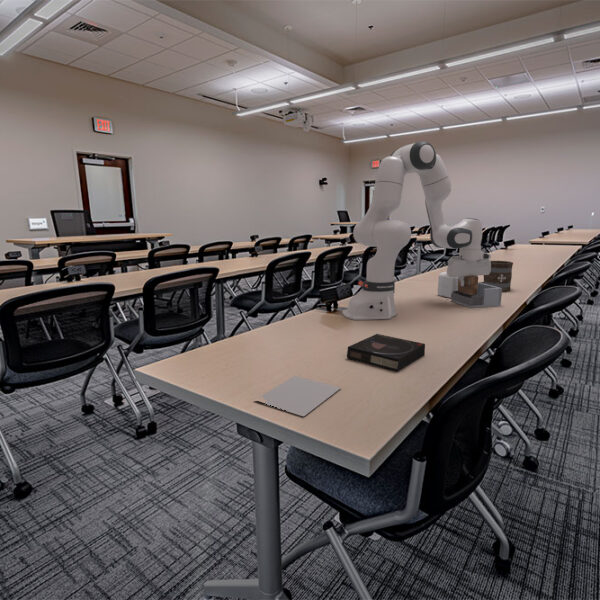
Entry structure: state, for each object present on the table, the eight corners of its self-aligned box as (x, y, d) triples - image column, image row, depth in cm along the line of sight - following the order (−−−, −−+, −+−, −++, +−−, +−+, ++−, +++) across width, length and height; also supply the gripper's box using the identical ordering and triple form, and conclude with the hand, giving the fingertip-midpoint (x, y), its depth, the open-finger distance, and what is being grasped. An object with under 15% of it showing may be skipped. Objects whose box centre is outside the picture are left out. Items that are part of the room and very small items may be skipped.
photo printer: (458, 298, 197) (460, 273, 194) (452, 299, 195) (453, 273, 192) (442, 294, 206) (443, 270, 203) (436, 295, 204) (437, 271, 201)
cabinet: (470, 308, 176) (471, 290, 174) (450, 301, 190) (451, 284, 189) (500, 305, 179) (502, 288, 178) (478, 299, 194) (480, 282, 192)
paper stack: (224, 393, 98) (223, 391, 98) (284, 361, 118) (284, 359, 118) (303, 419, 85) (303, 416, 85) (356, 378, 105) (356, 375, 105)
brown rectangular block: (470, 295, 178) (472, 277, 176) (457, 290, 188) (458, 273, 186) (477, 294, 179) (478, 276, 177) (463, 290, 188) (464, 273, 186)
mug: (511, 289, 216) (513, 261, 213) (509, 293, 205) (512, 264, 202) (471, 286, 226) (473, 259, 223) (468, 290, 215) (470, 262, 211)
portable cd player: (346, 360, 119) (346, 347, 118) (376, 345, 132) (377, 333, 131) (396, 374, 108) (397, 359, 108) (424, 356, 121) (425, 343, 120)
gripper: (453, 257, 174) (451, 288, 177) (494, 254, 179) (491, 285, 182) (444, 255, 180) (443, 285, 183) (484, 253, 185) (482, 283, 188)
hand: (467, 285), depth 182 cm, fingers closed on brown rectangular block, 3 cm apart
